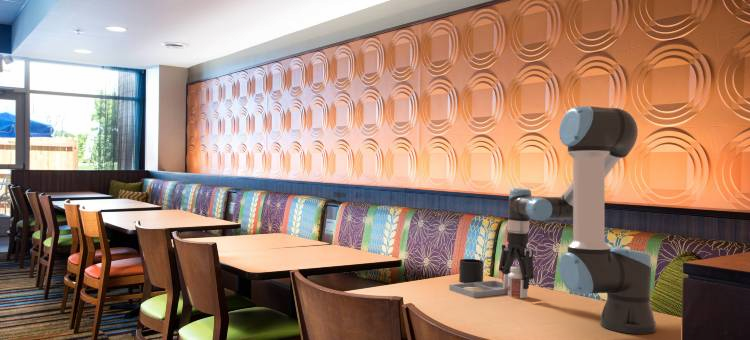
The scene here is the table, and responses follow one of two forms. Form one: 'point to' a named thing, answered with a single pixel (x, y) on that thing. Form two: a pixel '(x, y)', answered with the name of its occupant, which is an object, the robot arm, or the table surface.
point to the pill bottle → (514, 282)
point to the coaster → (473, 289)
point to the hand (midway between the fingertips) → (514, 294)
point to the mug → (470, 271)
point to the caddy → (488, 286)
